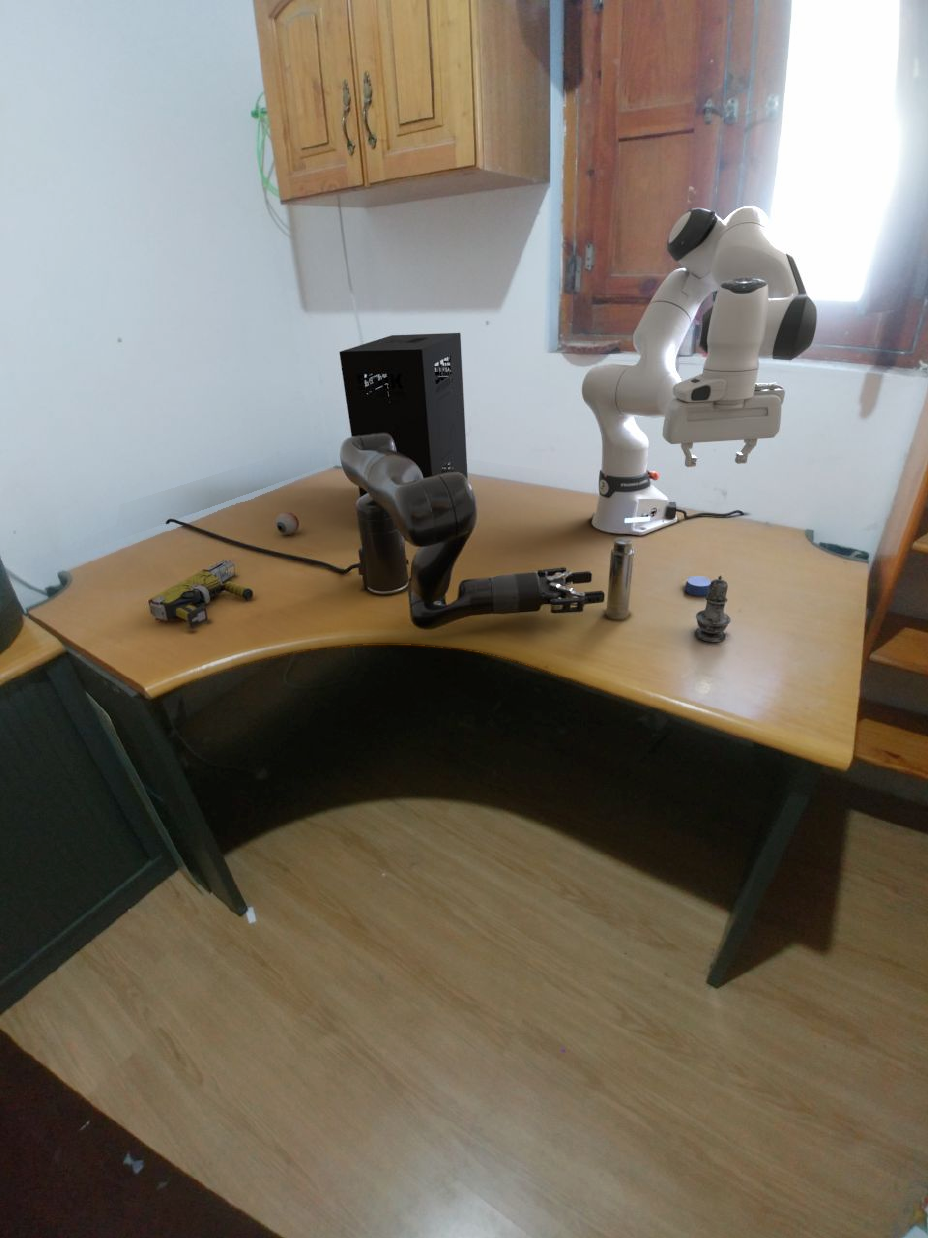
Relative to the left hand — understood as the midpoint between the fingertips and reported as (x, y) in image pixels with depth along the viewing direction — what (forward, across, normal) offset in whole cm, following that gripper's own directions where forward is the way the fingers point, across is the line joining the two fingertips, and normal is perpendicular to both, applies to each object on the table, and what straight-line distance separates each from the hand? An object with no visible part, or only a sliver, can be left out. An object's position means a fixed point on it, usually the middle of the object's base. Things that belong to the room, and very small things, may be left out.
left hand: (597, 586), depth 115 cm
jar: (+4, 0, +6) cm, 8 cm away
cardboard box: (-32, +70, +6) cm, 77 cm away
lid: (+24, +6, +5) cm, 25 cm away
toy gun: (-79, +21, +6) cm, 82 cm away
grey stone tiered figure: (+18, -11, +6) cm, 22 cm away
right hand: (+23, +6, -20) cm, 31 cm away
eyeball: (-69, +58, +6) cm, 90 cm away
